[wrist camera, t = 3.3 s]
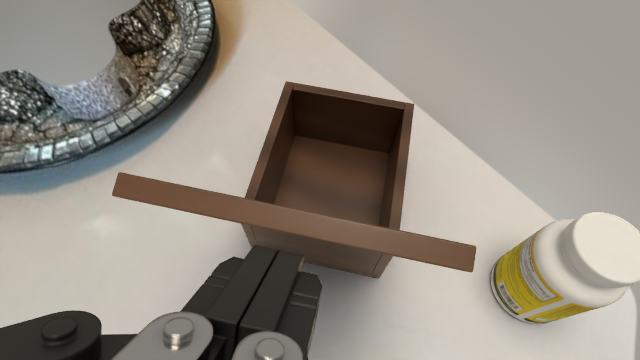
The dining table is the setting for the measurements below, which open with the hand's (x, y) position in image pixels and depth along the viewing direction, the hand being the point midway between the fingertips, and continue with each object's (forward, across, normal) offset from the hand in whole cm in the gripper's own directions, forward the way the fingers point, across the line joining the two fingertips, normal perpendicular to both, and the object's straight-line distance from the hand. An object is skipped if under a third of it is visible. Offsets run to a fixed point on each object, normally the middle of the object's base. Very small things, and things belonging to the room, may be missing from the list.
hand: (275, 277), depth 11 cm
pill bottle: (+22, -18, +9) cm, 30 cm away
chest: (+25, 0, +6) cm, 25 cm away
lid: (+8, 0, +1) cm, 8 cm away
